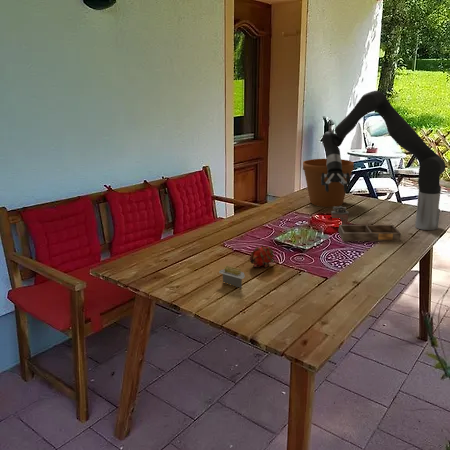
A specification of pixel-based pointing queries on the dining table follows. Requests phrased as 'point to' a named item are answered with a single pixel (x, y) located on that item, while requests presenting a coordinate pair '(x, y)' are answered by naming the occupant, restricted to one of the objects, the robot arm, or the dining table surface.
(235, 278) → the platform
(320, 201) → the flowerpot
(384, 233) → the divided wooden tray
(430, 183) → the robot arm
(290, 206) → the dining table surface
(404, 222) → the dining table surface
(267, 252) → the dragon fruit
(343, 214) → the lighter
